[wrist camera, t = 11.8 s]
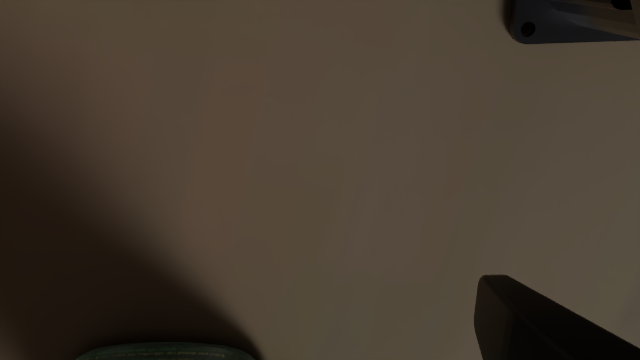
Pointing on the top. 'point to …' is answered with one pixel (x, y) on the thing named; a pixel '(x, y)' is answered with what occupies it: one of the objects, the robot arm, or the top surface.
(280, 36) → the top surface
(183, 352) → the coffee jar
